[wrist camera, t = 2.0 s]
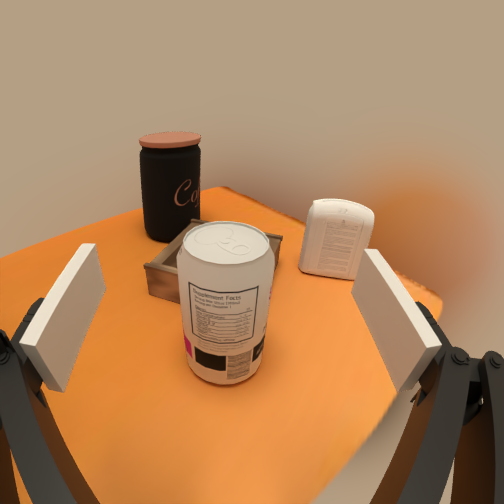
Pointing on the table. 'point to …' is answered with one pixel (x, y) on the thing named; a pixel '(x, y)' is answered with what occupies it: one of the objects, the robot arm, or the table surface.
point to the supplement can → (225, 298)
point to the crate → (165, 265)
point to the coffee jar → (170, 182)
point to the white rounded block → (335, 238)
